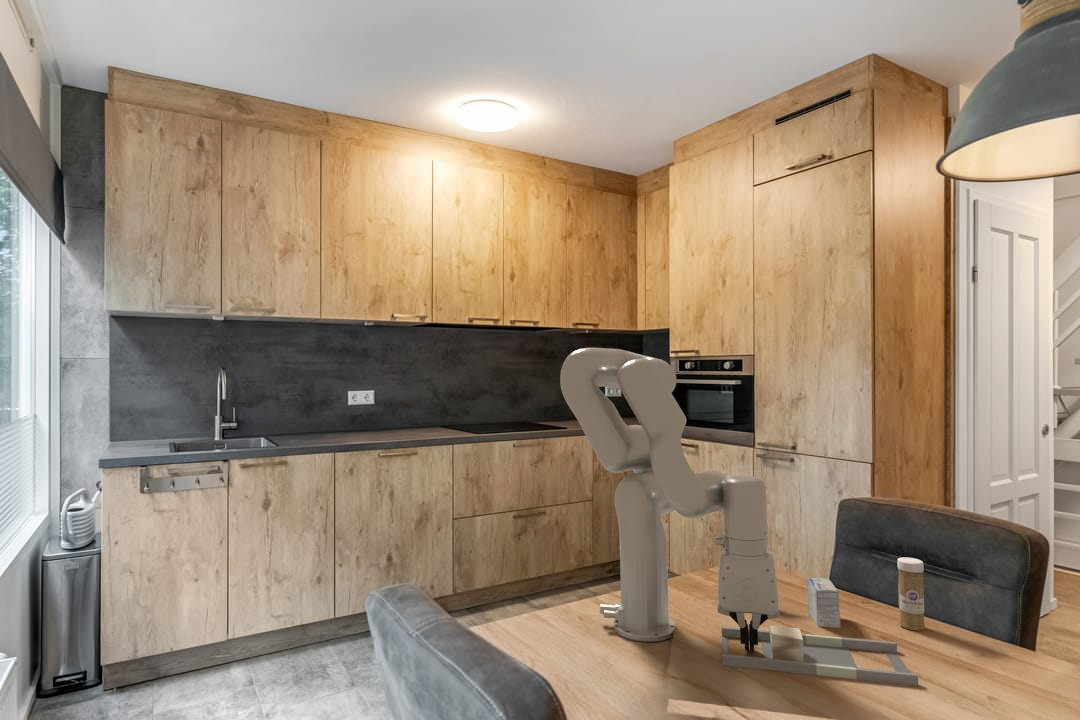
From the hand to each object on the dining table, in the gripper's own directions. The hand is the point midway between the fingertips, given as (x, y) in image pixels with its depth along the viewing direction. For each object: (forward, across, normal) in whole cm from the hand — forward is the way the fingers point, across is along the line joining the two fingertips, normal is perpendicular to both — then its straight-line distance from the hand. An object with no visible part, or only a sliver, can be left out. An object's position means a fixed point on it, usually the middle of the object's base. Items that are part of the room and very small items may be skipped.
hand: (749, 648), depth 113 cm
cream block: (+1, +6, 0) cm, 6 cm away
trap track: (+2, +10, 0) cm, 11 cm away
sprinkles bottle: (+3, +32, +23) cm, 40 cm away
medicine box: (+3, +15, +19) cm, 25 cm away
